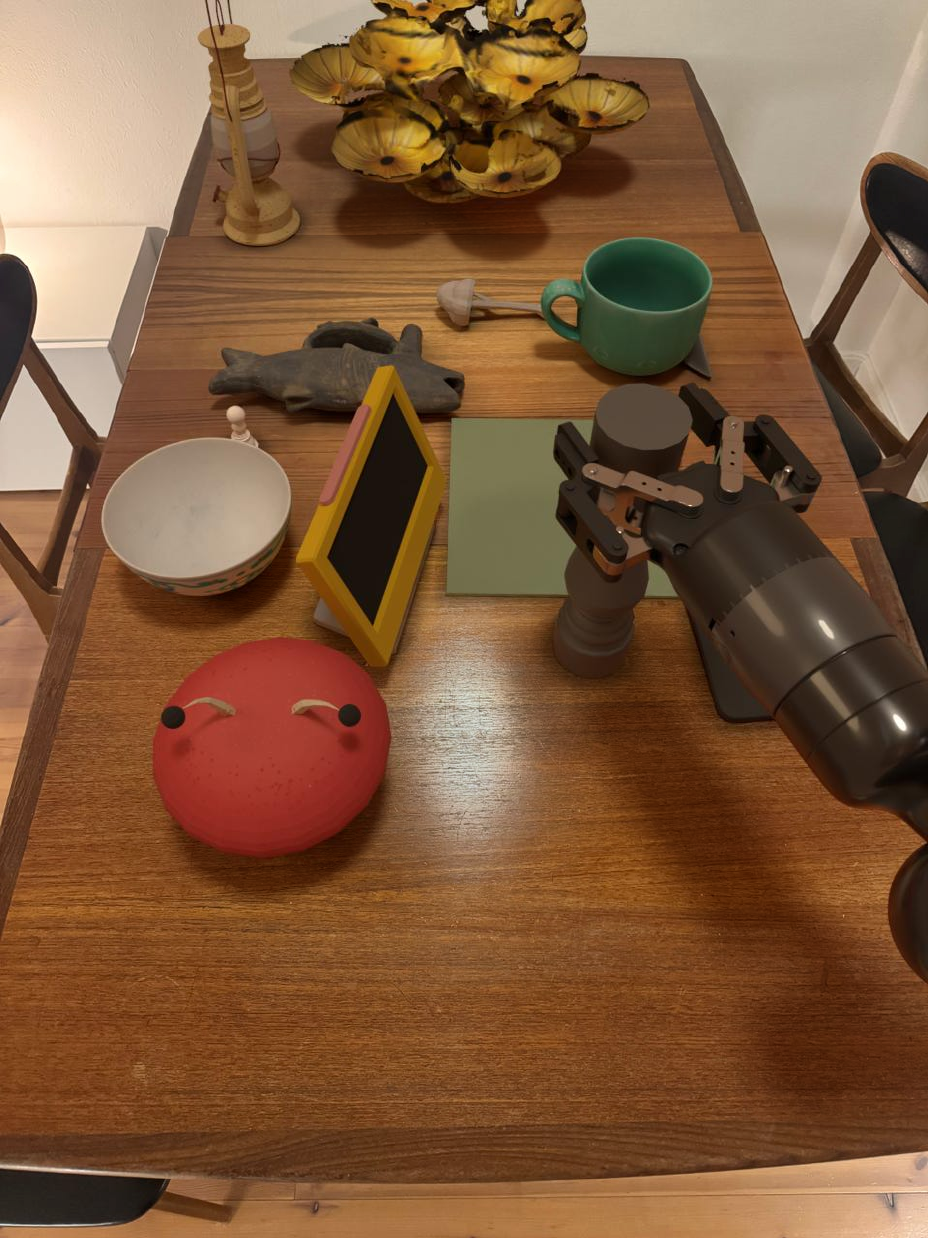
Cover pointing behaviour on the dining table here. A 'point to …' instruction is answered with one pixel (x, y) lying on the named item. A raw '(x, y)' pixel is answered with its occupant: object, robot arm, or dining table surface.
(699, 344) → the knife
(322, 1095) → the dining table surface
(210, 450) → the chinaware
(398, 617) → the yellow framed monitor
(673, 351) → the mug
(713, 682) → the phone
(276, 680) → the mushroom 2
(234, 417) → the chess pawn
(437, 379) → the ceramic vessel
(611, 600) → the candle holder
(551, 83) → the mushroom
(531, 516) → the mat
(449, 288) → the mushroom
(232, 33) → the lantern
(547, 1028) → the dining table surface
